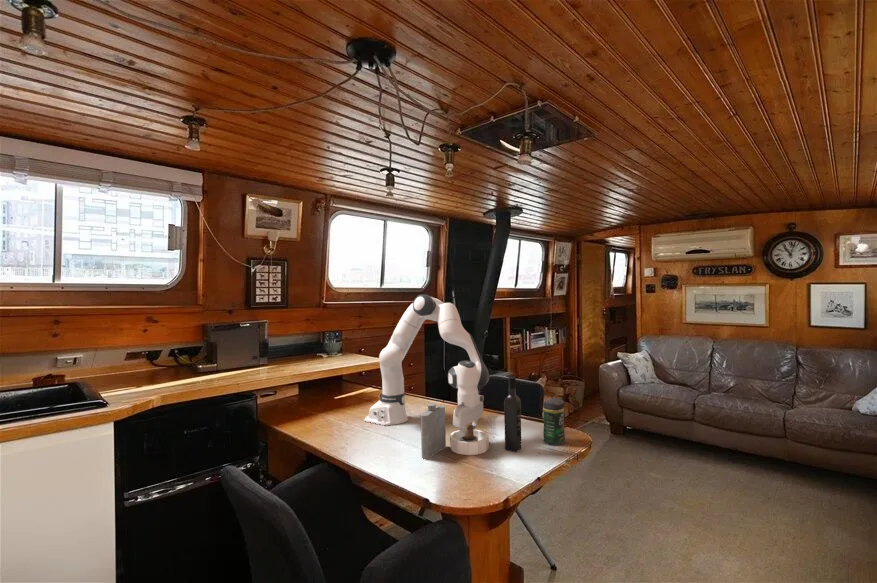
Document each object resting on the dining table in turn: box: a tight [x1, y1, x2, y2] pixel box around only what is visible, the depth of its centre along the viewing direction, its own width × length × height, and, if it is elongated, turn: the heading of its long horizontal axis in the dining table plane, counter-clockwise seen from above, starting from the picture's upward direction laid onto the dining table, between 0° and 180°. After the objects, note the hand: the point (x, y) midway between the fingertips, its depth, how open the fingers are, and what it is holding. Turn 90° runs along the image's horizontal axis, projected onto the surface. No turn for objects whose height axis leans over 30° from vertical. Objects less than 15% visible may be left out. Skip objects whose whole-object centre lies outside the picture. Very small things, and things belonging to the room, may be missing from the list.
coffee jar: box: [542, 397, 566, 446], centre depth 182 cm, size 10×8×19 cm
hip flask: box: [420, 403, 447, 460], centre depth 174 cm, size 16×4×20 cm, turn 148°
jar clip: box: [460, 435, 478, 442], centre depth 178 cm, size 7×7×3 cm
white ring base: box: [449, 429, 490, 456], centre depth 178 cm, size 16×16×5 cm
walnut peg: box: [464, 424, 474, 441], centre depth 178 cm, size 4×4×8 cm
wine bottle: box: [503, 376, 522, 453], centre depth 175 cm, size 6×6×30 cm
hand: (468, 432), depth 178 cm, fingers open, 8 cm apart
